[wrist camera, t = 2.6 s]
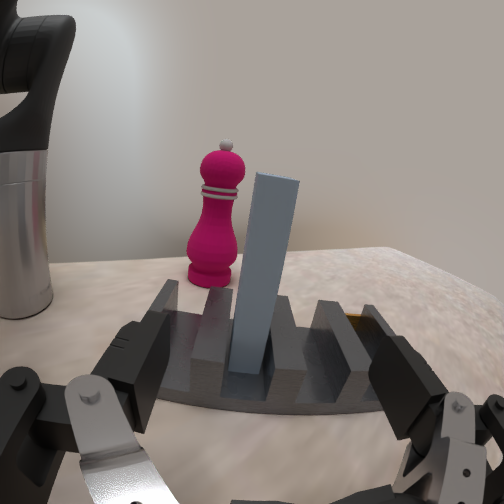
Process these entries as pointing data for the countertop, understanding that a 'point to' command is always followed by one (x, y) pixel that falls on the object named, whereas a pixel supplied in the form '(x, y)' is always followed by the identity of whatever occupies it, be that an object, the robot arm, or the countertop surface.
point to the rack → (272, 359)
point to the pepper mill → (216, 219)
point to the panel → (261, 269)
